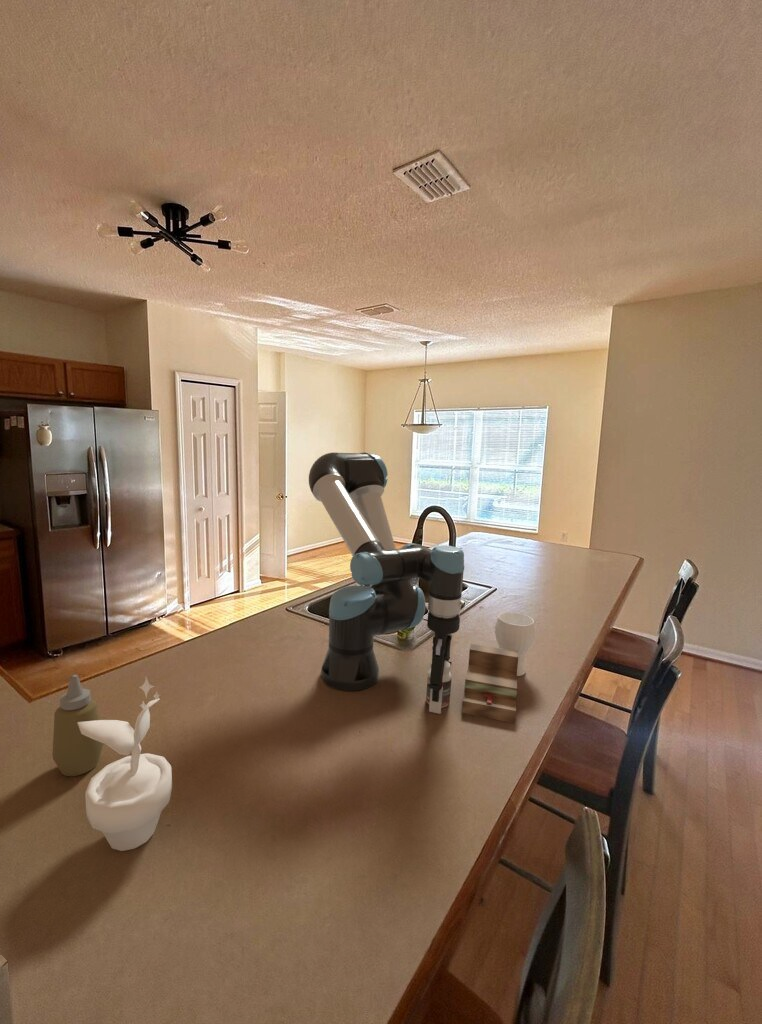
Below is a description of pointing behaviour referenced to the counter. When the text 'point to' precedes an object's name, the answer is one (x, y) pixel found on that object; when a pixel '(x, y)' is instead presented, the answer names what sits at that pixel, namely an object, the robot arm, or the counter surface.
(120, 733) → the potted plant
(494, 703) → the stand
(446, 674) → the pill bottle
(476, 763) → the counter surface
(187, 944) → the counter surface
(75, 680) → the squeeze bottle
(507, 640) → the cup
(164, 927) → the counter surface
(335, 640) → the robot arm
